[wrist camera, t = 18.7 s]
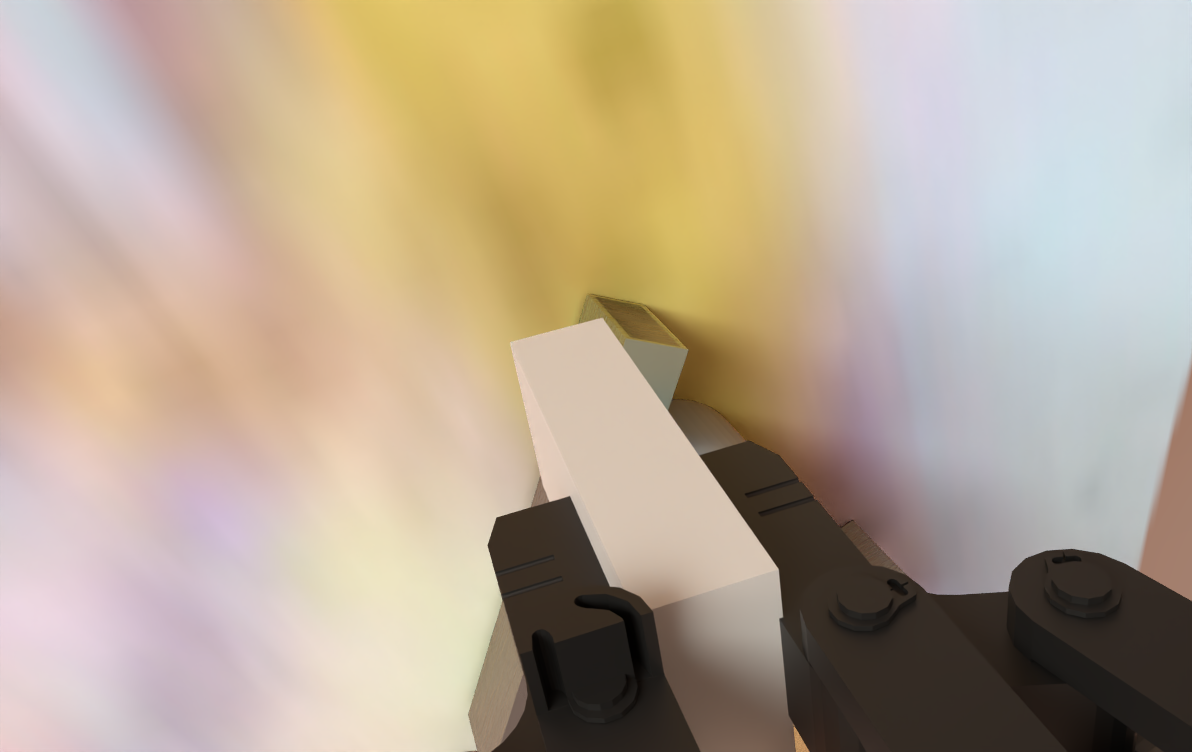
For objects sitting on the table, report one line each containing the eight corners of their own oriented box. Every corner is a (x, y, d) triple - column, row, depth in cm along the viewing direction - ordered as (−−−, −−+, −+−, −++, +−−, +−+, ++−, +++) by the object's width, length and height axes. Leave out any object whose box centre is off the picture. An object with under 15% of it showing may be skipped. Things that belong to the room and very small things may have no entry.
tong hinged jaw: (513, 712, 37) (538, 790, 34) (462, 711, 36) (481, 791, 33) (644, 305, 32) (688, 349, 28) (587, 293, 31) (625, 338, 28)
